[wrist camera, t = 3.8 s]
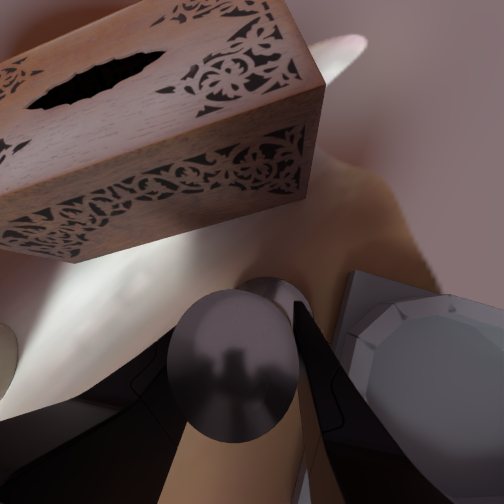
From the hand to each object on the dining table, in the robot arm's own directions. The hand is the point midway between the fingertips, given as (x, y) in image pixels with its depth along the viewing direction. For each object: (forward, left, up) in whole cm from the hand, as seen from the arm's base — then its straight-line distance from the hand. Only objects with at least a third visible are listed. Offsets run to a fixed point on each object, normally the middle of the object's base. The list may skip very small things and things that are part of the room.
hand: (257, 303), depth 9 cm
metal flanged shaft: (-1, 0, -7) cm, 7 cm away
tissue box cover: (+10, +15, -7) cm, 19 cm away
